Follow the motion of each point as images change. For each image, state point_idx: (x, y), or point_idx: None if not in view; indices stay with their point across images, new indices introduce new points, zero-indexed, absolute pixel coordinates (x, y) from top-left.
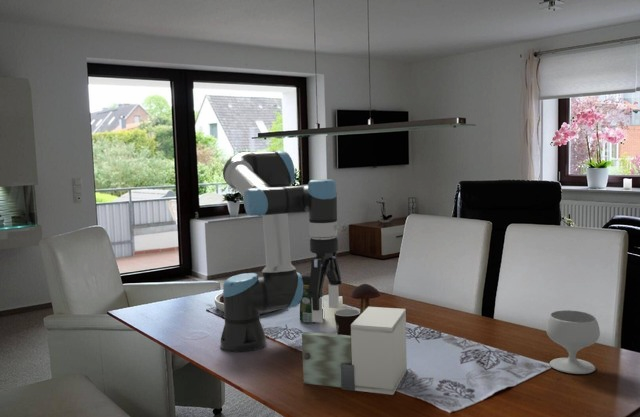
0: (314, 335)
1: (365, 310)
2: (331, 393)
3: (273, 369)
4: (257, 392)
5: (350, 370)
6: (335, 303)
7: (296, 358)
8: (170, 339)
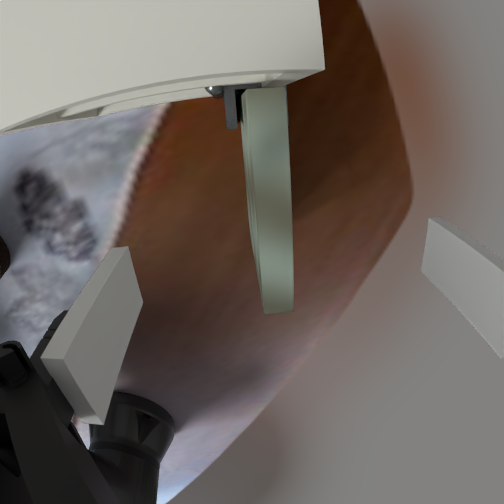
0: (292, 261)
1: (18, 117)
2: (307, 138)
3: (217, 330)
4: (345, 299)
5: None
6: (124, 278)
7: None
8: (179, 480)
